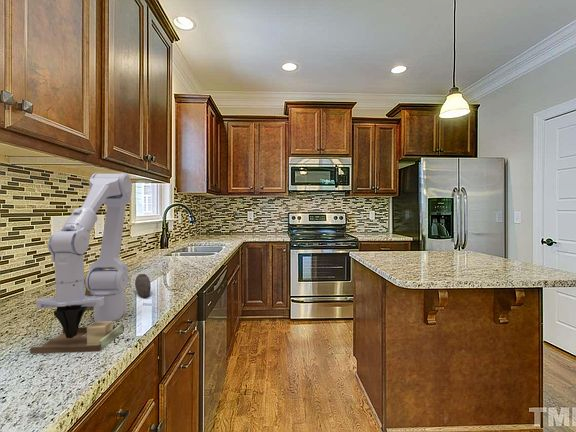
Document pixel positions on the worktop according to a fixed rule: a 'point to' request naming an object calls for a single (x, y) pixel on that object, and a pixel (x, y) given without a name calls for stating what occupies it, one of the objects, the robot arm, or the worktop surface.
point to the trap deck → (77, 342)
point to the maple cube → (98, 331)
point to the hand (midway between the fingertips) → (71, 336)
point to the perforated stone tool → (143, 285)
